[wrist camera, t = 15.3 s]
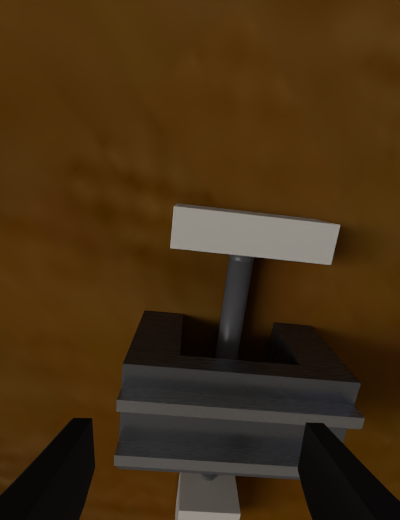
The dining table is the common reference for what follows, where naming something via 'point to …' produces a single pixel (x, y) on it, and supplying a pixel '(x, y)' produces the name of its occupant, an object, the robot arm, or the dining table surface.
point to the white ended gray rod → (239, 307)
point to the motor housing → (228, 403)
